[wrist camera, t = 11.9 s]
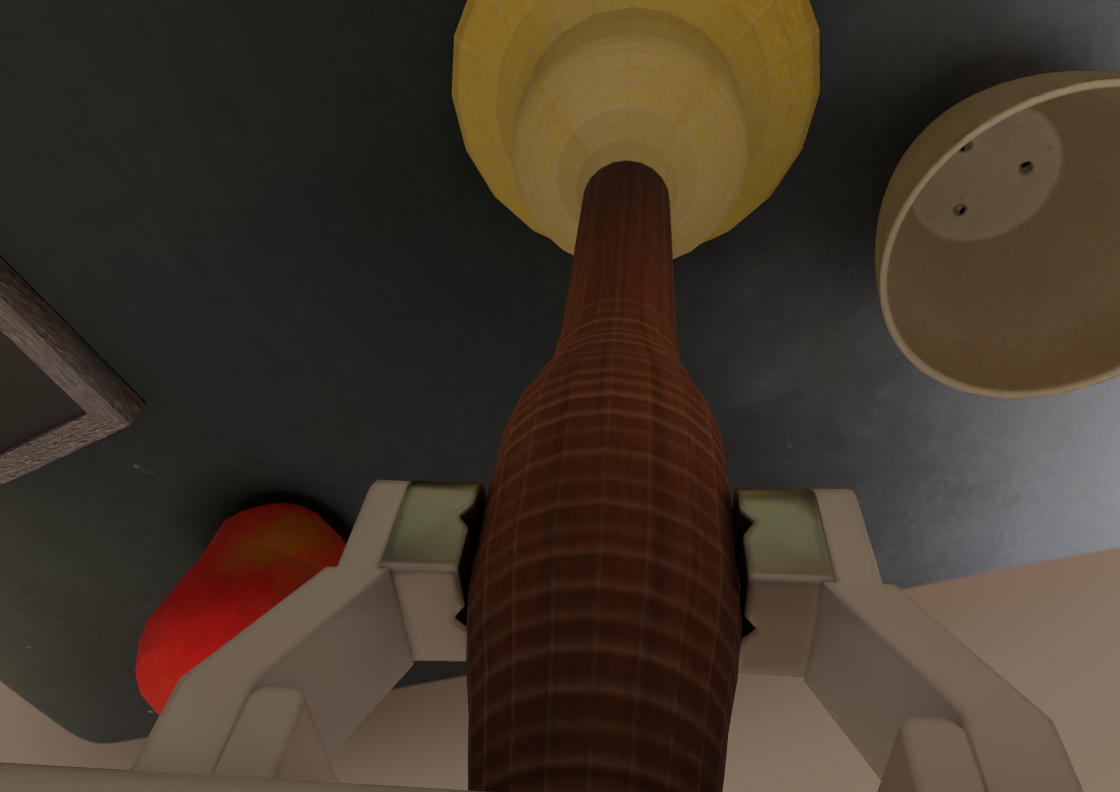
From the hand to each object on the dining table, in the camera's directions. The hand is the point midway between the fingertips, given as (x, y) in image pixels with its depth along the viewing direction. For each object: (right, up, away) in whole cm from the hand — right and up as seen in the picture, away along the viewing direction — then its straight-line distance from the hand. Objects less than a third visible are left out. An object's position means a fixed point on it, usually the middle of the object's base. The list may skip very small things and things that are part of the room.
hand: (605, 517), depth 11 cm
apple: (-15, -6, +33) cm, 36 cm away
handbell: (+2, +12, +16) cm, 20 cm away
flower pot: (+14, +10, +18) cm, 25 cm away
